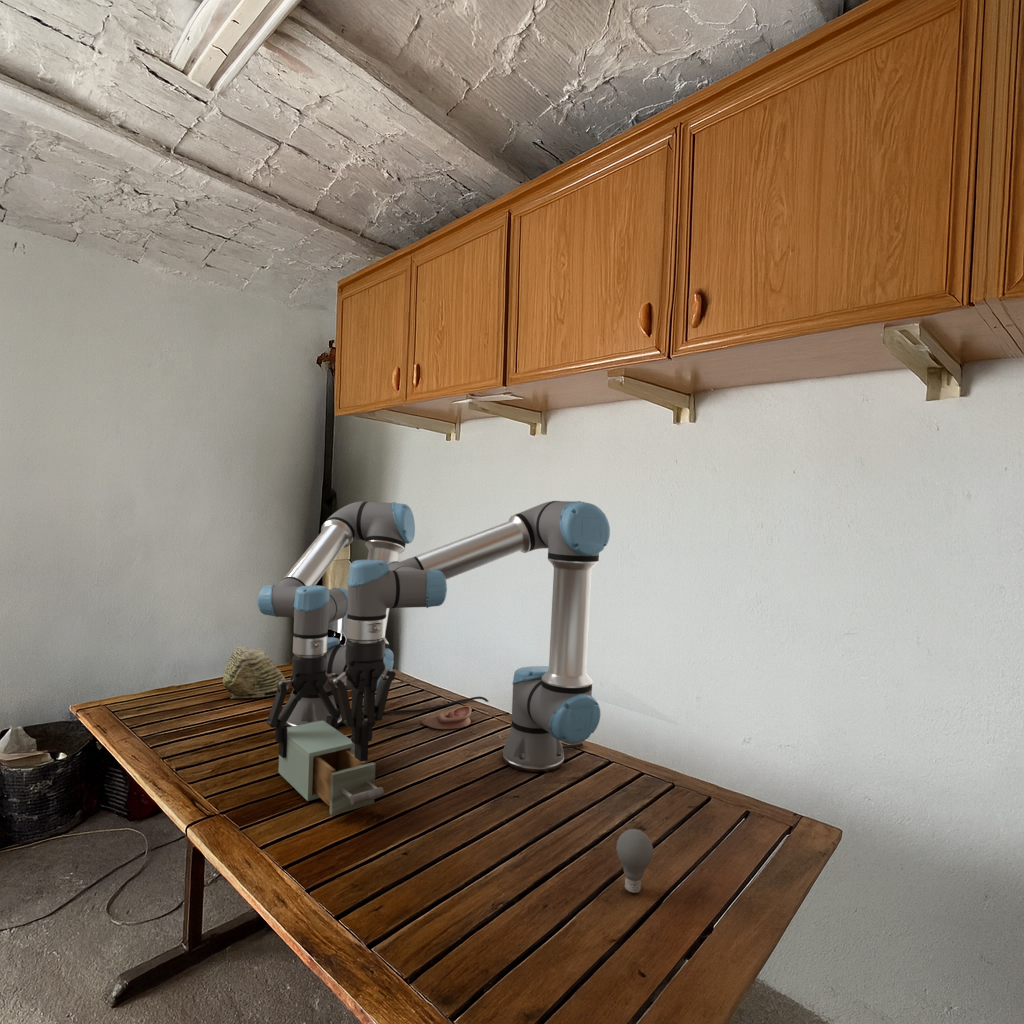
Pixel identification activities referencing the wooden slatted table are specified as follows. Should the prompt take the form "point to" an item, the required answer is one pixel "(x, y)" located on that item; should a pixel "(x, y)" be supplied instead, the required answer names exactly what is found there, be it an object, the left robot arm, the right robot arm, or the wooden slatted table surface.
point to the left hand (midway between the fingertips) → (306, 750)
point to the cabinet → (309, 753)
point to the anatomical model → (450, 719)
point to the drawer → (344, 781)
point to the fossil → (251, 674)
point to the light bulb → (634, 857)
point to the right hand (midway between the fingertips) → (360, 758)
